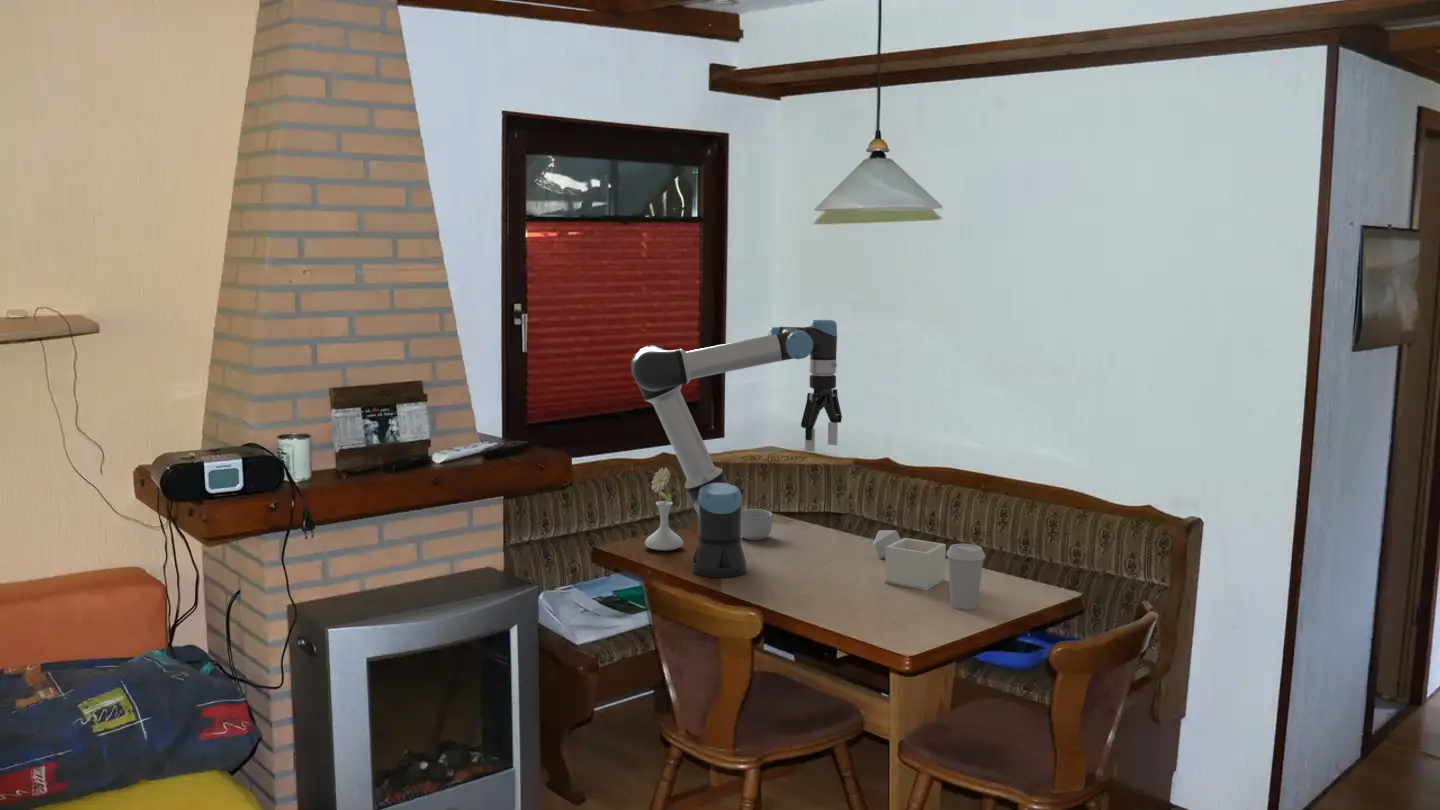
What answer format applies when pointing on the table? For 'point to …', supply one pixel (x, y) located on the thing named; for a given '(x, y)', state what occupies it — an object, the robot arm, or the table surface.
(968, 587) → the coffee cup
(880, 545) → the die
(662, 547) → the flower in vase
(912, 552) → the white open box
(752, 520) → the teacup
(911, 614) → the table surface
